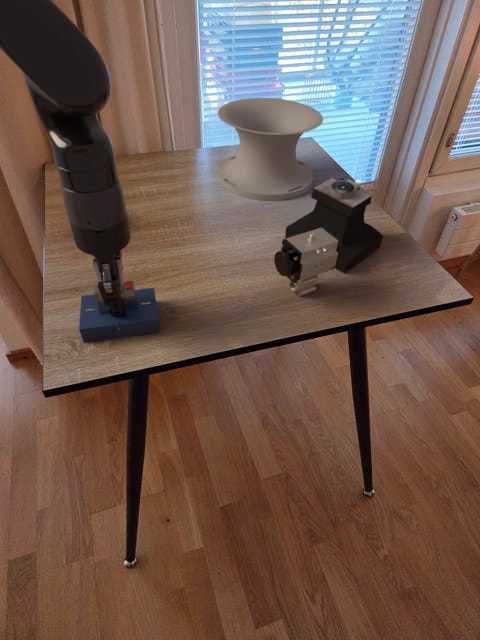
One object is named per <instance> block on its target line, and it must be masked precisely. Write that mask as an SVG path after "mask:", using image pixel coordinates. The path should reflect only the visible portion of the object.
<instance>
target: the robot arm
mask: <svg viewBox="0 0 480 640" xmlns="http://www.w3.org/2000/svg"><path fill="white" fill-rule="evenodd" d="M0 50H1V51H2V52H3V53H4V55H6V56H7V58H9V59H10V60H11V62H12V63H14V65H15V66H16V67H17V68H18V69H19V70H20V71H21V72H22V73H23V76H24V80H25V83H26V87H27V89H28V91H29V95H30V97H31V101H32V103H33V105H34V108H35V109H36V110H35V111H36V113H37V115H38V117H39V120H40V122H41V124H42V127H43V129H44V132H45V133H46V136H47V138H48V141H49V144H50V146H51V150H52V154H53V155H52V156H53V159H54V164H55V167H56V170H57V174H58V178H59V181H60V185H61V191H62V198H63V199H62V200H63V202H64V204H63V205H64V207H65V211H66V214H67V218H68V223H69V225H70V228H71V232H72V237H73V239H74V243H75V246H76V247H77V248H78V249H79V251H81V252H82V253H84V254H86V255H90V256H93V258H92V259H91V261H92V267H93V270H94V272H96V273H95V274H96V277H97V281H98V282H97V284H96V285H97V286H98V288H99V291H100V293H101V296H102V298H103V301H104V304H105V306H108V305H109V308H110V312H111V316H112V317H118V316H124V315H125V314H126V313H125V306H124V301H123V297H124V296H123V294H122V289H121V287H122V286H123V282H124V277H123V270H124V266H123V265H124V264H123V259H122V258H123V254H122V251H123V250H124V249H126V248H127V246H128V245H129V244H130V243H131V237H132V235H131V230H130V224H129V219H128V217H129V216H128V212H127V206H126V200H125V195H124V191H123V187H122V185H121V181H120V176H119V170H118V165H117V160H116V155H115V149H114V146H113V141H112V140H111V137H110V135H109V134H108V132H107V131H106V130H105V129H104V127H103V126H102V124H101V122H100V120H99V117H98V113H100V112H102V110H103V109H104V108H105V107H106V106H107V104H108V103H109V100H110V97H111V94H112V78H111V73H110V70H109V68H108V65H107V62H106V61H105V59H104V58H103V55H101V53H100V52H99V50H98V49H97V47H96V46H95V45H94V44H93V42H92V41H91V40H90V38H88V36H87V35H86V34H85V33H84V32H83V31H82V30H81V29H80V28H79V26H77V25H76V24H75V23H74V21H73V20H72V19H70V17H69V16H67V14H66V13H65V12H64V11H63V10H62V9H61V8H60V7H59V6H58V5H57V4H56V2H54V1H53V0H0Z"/></svg>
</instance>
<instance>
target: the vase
mask: <svg viewBox="0 0 480 640" xmlns="http://www.w3.org/2000/svg"><path fill="white" fill-rule="evenodd" d="M217 116H218V118H219V119H220V120H221V121H222V122H224V123H225V124H227V125H228V126H231V127H232V128H234V129H235V131H236V134H237V135H238V140H239V147H238V151H237V153H236V154H234V155H231V156H230V157H227V158H224V159H223V160H222V162H220V164H218V167H217V180H218V182H219V184H220V185H221V187H223V188H224V189H225V190H227V191H229V192H230V193H232V194H233V195H237V196H238V197H239V196H240V197H242V198H246V199H250V200H257V201H268V202H269V201H270V202H271V201H273V202H275V201H276V202H277V201H284V200H290V199H294V198H297V197H300V196H302V195H304V194H305V193H308V191H309V190H310V189H311V188H312V186H313V183H314V182H313V181H314V172H313V170H312V168H311V167H310V166H309V165H307V164H306V163H305V162H303V161H302V160H300V159H298V158H297V146H298V142H299V140H300V138H301V137H302V135H304V133H307V132H310V131H313V130H315V129H317V128H319V127H320V126H321V125H322V124H323V122H324V116H323V115H322V114H321V112H319V111H318V110H317V109H315V108H314V107H312V106H309V105H306V104H304V103H301V102H298V101H294V100H290V99H283V98H276V97H275V98H273V97H248V98H241V99H237V100H233V101H230V102H229V101H228V102H227V103H225V104H223V105H222V106H220V107H219V108H218V110H217Z"/></svg>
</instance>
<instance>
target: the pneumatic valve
mask: <svg viewBox="0 0 480 640" xmlns="http://www.w3.org/2000/svg"><path fill="white" fill-rule="evenodd" d="M342 254H343V243H342V241H341V239H340V238H339V237H338V236H337V235H335V234H333V233H332V232H330V231H329V230H328V229H326V228H325V227H322V228H318V229H315V230H312V231H309V232H306V233H302V234H299V235H296V236H293V237H289V238H282V240H281V245H280V250H279V251H276V252H275V254H274V257H273V262H274V266H275V269H276V271H277V273H278V274H279V275H280V276H282V277H286V278H287V279H289V281H288V287H289V289H290V291H291V292H292V293H297V296H299V297H302V296H305V295H308V294H311V293H313V292H315V291H316V290H317V284H319V282H320V277H319V275H322V274H325V273H327V272H330V271H333V270H335V268H334V267H336V266H338V262H339V258H340V257H341V256H342Z"/></svg>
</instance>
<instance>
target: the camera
mask: <svg viewBox="0 0 480 640" xmlns="http://www.w3.org/2000/svg"><path fill="white" fill-rule="evenodd" d="M360 188H361V184H359V183H357V182H355V181H353V180H350V179H348V178H347V179H344V178H342V177H341V178H340V179H338V180H337V179H335V178H334V177H331V178H328V179H327V180H326V181H324V182H322V183H320V184H318V185H317V186H314V187H313V189H312V191H311V195H310V198H311V199H313V200H315V201H316V203H315V205H314V208H313V210H312V211H310V212H308V213H307V214H305V215H303V216H302V217H300V218H299V219H297V220H295V221H294V222H292V223H290V224H289V225H287V226H286V227H285V233H284V235H285V237H284V239H286V238H289V237H293V236H296V235H299V234H302V233H306V232H309V231H312V230H315V229H318V228H322V227H325V228H326V229H328V230H329V231H330V232H332V233H333V234H335V235H337V236H338V237H339V238H340V239H341V241H342V243H343V254H342V256H341V257H340V258H339V262H338V266H336V267H334V269H336V270H338V271H339V272H341V273H343V274H346V273H347V272H348V271H350V270H351V269H353V268H354V267H356V266H357V265H359V263H360V262H362V261H363V260H365V259H366V258H367V257H370V255H372V254H373V253H374V252H376V251H377V250H378V249H380V248H381V246H382V243H383V239H384V235H383V234H382V233H381V232H380V231H378V230H377V229H376V228H374V226H372V225H370V224H369V223H367V222H365V212H366V209H367V207H368V206H369V205H370V204H371V205H372V195H370V194H368V193H366V192H364V191H362V190H360Z"/></svg>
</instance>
